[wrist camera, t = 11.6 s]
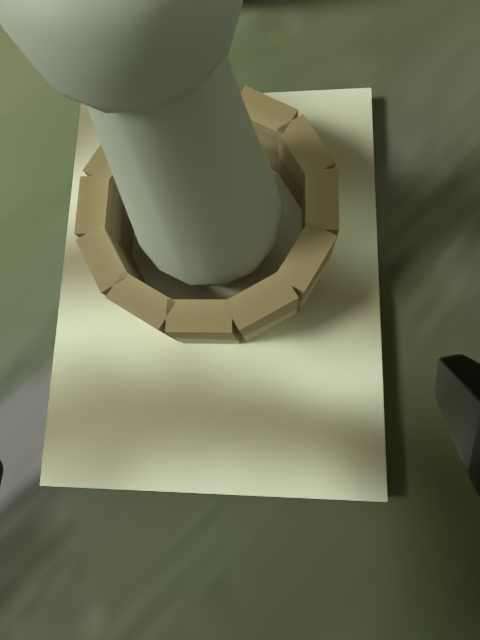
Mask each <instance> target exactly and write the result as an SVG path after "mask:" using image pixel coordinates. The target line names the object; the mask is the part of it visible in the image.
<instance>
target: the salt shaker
mask: <svg viewBox="0 0 480 640" xmlns="http://www.w3.org/2000/svg"><path fill="white" fill-rule="evenodd" d="M242 3H243V0H0V24H1V26H2V28H3V29H4V30H5V31H6V33H7V34H8V35H9V36H10V37H11V39H12V40H13V41H14V42H15V44H16V45H17V46H18V47H19V48H20V50H21V51H22V52H23V53H24V55H25V56H26V57H27V58H28V59H29V61H30V62H31V63H32V64H33V65H34V67H35V68H36V69H37V70H38V71H39V73H40V74H41V75H42V76H43V77H44V78H45V80H46V81H47V82H48V83H49V84H50V85H51V87H52V88H53V89H55V90H56V91H58V92H59V93H61V94H63V95H64V96H66V97H68V98H70V99H73V100H75V101H78V102H80V103H82V104H85V105H86V106H87V109H88V111H89V114H90V117H91V119H92V122H93V124H94V127H95V130H96V132H97V135H98V138H99V140H100V143H101V145H102V148H103V151H104V153H105V156H106V159H107V161H108V164H109V166H110V169H111V172H112V174H113V177H114V180H115V182H116V185H117V187H118V190H119V193H120V195H121V198H122V201H123V203H124V206H125V208H126V211H127V214H128V216H129V219H130V222H131V224H132V227H133V229H134V232H135V235H136V237H137V240H138V243H139V245H140V247H141V248H142V249H143V250H144V252H145V253H146V254H147V255H148V257H149V258H150V259H151V260H152V261H153V263H154V264H155V265H156V266H157V268H158V269H159V270H161V271H163V272H165V273H167V274H169V275H171V276H173V277H175V278H177V279H179V280H181V281H183V282H185V283H187V284H189V285H191V286H207V285H226V284H228V283H230V282H232V281H234V280H236V279H239V278H241V277H243V276H245V275H247V274H250V273H252V272H254V271H255V270H256V269H257V267H258V266H259V265H260V264H261V262H262V261H263V260H264V259H265V257H266V256H267V255H268V254H269V252H270V251H271V250H272V249H273V247H274V246H275V243H276V240H277V236H278V232H279V228H280V224H281V220H282V216H283V212H284V210H283V206H282V202H281V198H280V194H279V190H278V187H277V183H276V179H275V177H274V175H273V172H272V170H271V167H270V165H269V162H268V160H267V158H266V155H265V153H264V150H263V148H262V145H261V143H260V141H259V138H258V136H257V133H256V131H255V128H254V126H253V124H252V121H251V119H250V116H249V114H248V111H247V109H246V107H245V104H244V101H243V98H242V96H241V93H240V90H239V88H238V85H237V82H236V79H235V77H234V74H233V71H232V69H231V66H230V63H229V60H228V58H227V55H228V52H229V49H230V46H231V42H232V39H233V35H234V32H235V29H236V25H237V22H238V18H239V15H240V11H241V7H242Z"/></svg>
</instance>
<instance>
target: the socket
mask: <svg viewBox="0 0 480 640" xmlns="http://www.w3.org/2000/svg"><path fill="white" fill-rule="evenodd" d="M237 85H238V88H239V84H237ZM240 93H241V96H242V98H243V101H244V104H245V107H246V109H247V111H248V114H249V116H250V119H251V121H252V124H253V126H254V128H255V131H256V133H257V136H258V138H259V141H260V143H261V145H262V148H263V150H264V153H265V155H266V158H267V160H268V162H269V165H270V167H271V170H272V172H273V175H274V177H275V179H276V183H277V187H278V190H279V194H280V198H281V202H282V206H283V210H284V212H283V216H282V220H281V224H280V228H279V232H278V236H277V240H276V243H275V246H274V247H273V249H272V250H271V251H270V252H269V254H268V255H267V256H266V257H265V259H264V260H263V261H262V262H261V264H260V265H259V266H258V267H257V269H256V270H255V271H254V272H252V273H250V274H247V275H245V276H243V277H241V278H239V279H236V280H234V281H232V282H230V283H228V284H226V285H207V286H191V285H189V284H187V283H185V282H183V281H181V280H179V279H177V278H175V277H173V276H171V275H169V274H167V273H165V272H163V271H161V270H159V269H158V268H157V266H156V265H155V264H154V263H153V261H152V260H151V259H150V258H149V257H148V255H147V254H146V253H145V252H144V250H143V249H142V248H141V247H140V245H139V243H138V240H137V237H136V235H135V232H134V229H133V227H132V224H131V222H130V219H129V216H128V214H127V211H126V208H125V206H124V203H123V201H122V198H121V195H120V193H119V190H118V187H117V185H116V182H115V180H114V177H113V174H112V172H111V169H110V166H109V164H108V161H107V159H106V156H105V153H104V151H103V148H102V145H101V143H100V140H99V138H98V135H97V132H96V130H95V127H94V124H93V122H92V119H91V117H90V114H89V111H88V109H87V106H86V105H85V104H82V103H81V109H80V118H79V127H78V136H77V146H76V155H75V164H74V173H73V182H72V192H71V201H70V210H69V219H68V229H67V238H66V247H65V256H64V266H63V275H62V284H61V293H60V302H59V312H58V321H57V330H56V339H55V349H54V358H53V367H52V376H51V386H50V395H49V404H48V413H47V423H46V432H45V441H44V450H43V459H42V469H41V478H40V486H58V487H79V488H100V489H121V490H143V491H164V492H185V493H206V494H228V495H249V496H270V497H291V498H312V499H334V500H355V501H376V502H388V498H387V473H386V448H385V423H384V398H383V373H382V348H381V323H380V298H379V273H378V248H377V223H376V198H375V173H374V148H373V122H372V97H371V88H356V89H336V90H316V91H295V92H275V93H261V92H259V91H257V90H254V89H252V88H250V87H248V86H246V85H245V86H244V88H243V89H242V91H241V92H240Z"/></svg>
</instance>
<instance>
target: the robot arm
mask: <svg viewBox="0 0 480 640" xmlns="http://www.w3.org/2000/svg"><path fill="white" fill-rule="evenodd" d="M434 395H435V399H436V402H437V405H438V407H439V409H440V412H441V414H442V416H443V419H444V421H445V423H446V426H447V428H448V430H449V433H450V435H451V437H452V440H453V442H454V445H455V447H456V449H457V452H458V454H459V456H460V459H461V461H462V463H463V466H464V468H465V470H466V472H467V474H468V476H469V478H470V480H471V482H472V484H473V486H474V488H475V489H476V491H477V493H478V495H479V497H480V363H478V362H476V361H474V360H472V359H470V358H468V357H466V356H464V355H461V354H457V355H451V356H445V357H441V358H439V359H438V361H437V364H436V374H435V385H434ZM2 476H3V465H2V462H1V460H0V485H1V480H2Z"/></svg>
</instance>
